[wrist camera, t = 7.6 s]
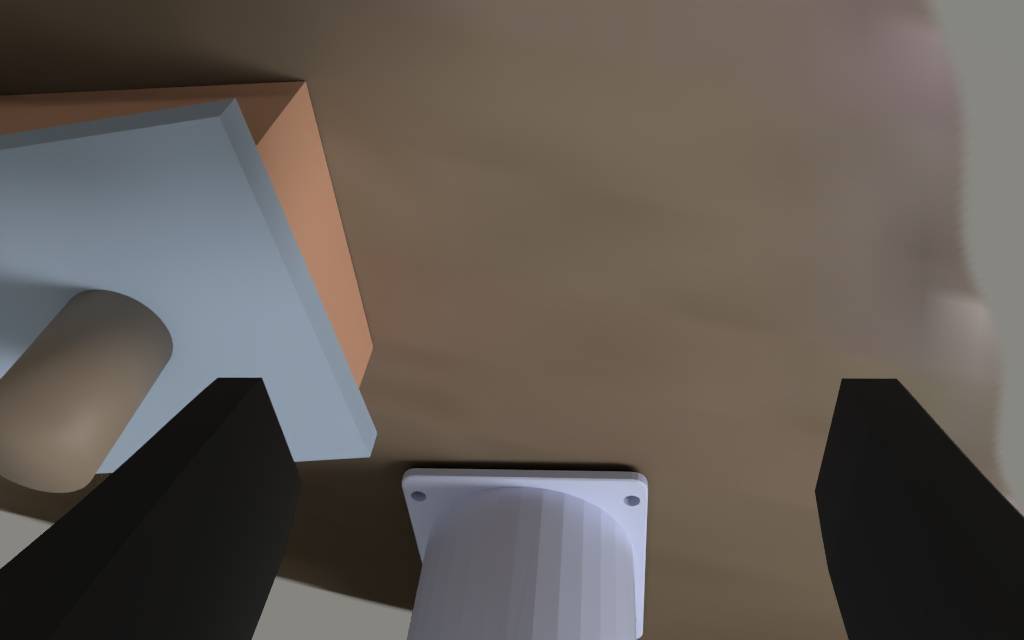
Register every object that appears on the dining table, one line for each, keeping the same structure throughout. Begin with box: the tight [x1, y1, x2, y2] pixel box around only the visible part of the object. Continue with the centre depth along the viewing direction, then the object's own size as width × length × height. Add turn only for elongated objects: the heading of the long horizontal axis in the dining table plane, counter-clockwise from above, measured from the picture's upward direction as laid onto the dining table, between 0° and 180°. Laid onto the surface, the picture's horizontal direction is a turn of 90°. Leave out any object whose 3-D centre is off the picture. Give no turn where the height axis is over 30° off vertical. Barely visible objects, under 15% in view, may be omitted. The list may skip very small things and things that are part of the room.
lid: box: [0, 98, 377, 493], centre depth 16 cm, size 9×9×4 cm
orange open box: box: [0, 81, 373, 389], centre depth 20 cm, size 8×8×4 cm
